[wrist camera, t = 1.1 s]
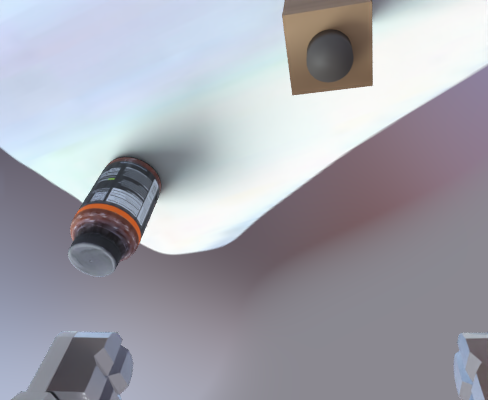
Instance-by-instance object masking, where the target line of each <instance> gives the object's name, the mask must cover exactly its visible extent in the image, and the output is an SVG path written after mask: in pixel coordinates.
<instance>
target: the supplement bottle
mask: <svg viewBox="0 0 488 400" xmlns="http://www.w3.org/2000/svg"><path fill="white" fill-rule="evenodd" d="M160 191H161V181H160V179H159V176H158V174H157V173H156V171H155V170H154V169H153V168H152V167H151V166H149V165H148V164H147V163H145V162H143V161H141V160H139V159H136V158H131V157H122V158H117V159H115V160H113V161H111V162H110V163H109V164H108V165H107V166H106V167H105V169H104V170H103V172H102V173H101V175H100V176H99V178H98V180H97V181H96V183H95V185H94V186H93V188H92V189H91V191H90V193H89V194H88V196H87V197H86V199H85V200H84V202H83V204H82V205H81V207H80V208H79V210H78V212H77V214H76V215H75V217H74V219H73V221H72V223H71V228H70V233H71V237H72V240H73V243H72V245H71V247H70V249H69V251H68V257H69V259H70V261H71V263H72V264H73V265H74V267H76V268H77V269H78V270H80V271H81V272H83V273H85V274H88V275H91V276H97V277H103V276H108V275H110V274H111V273H113V272H114V271H115V269H116V267H117V265H118V263H119V262H120V261H123V260H126V259H127V258H129V257H130V256H132V255H133V254H134V252H135V251H136V249H137V247H138V245H139V243H140V241H141V238H142V236H143V233H144V231H145V228H146V226H147V223H148V221H149V219H150V216H151V214H152V212H153V209H154V207H155V204H156V203H157V200H158V198H159V195H160Z"/></svg>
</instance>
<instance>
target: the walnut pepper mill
mask: <svg viewBox="0 0 488 400" xmlns="http://www.w3.org/2000/svg"><path fill="white" fill-rule="evenodd" d="M282 18H283V26H284V33H285V41H286V49H287V57H288V64H289V72H290V80H291V88H292V95H299V94H307V93H316V92H324V91H332V90H341V89H349V88H357V87H365V86H373V75H372V0H285V3H284V8H283V14H282Z"/></svg>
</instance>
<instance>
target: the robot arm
mask: <svg viewBox="0 0 488 400" xmlns="http://www.w3.org/2000/svg"><path fill="white" fill-rule="evenodd" d="M121 342H122V338H121V337H120V335H119V334H118V332H80V331H77V332H61V333H59V334H58V335H57V336H56V337H55V339H54V341H53V343H52V344H51V346H50V348H49V350H48V352H47V354H46V356H45V357H44V359H43V361H42V363H41V365H40V367H39V368H38V370H37V372H36V374H35V376H34V378H33V380H32V381H31V383H30V385H29V387H28V389H27V391H21V392H20V393H19V394H17V395H16V396H15V397H14V398H12V399H11V400H121V397H120V394H121V393H122V392H123V391H124V390H125V389H126V388H127V387H128V386H129V383H130V380H131V377H132V371H133V361H132V356H131V354H130V352H129V350H128V349H126V348H125V347H123V346H121ZM457 343H458V346H459V350H460V351H459V352H457V353H456V354H455V357H454V377H455V383H456V387H457V391H458V395H459V397H460V398H461V399H462V400H488V333H461V334H460V335H459V337H458V342H457Z"/></svg>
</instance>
